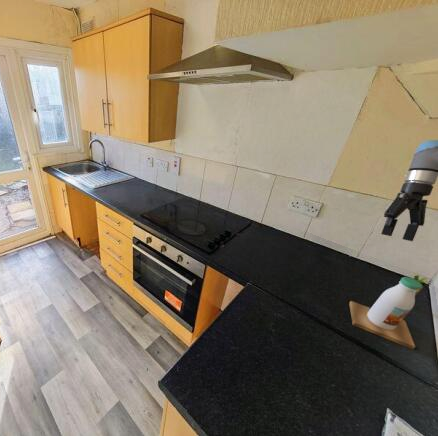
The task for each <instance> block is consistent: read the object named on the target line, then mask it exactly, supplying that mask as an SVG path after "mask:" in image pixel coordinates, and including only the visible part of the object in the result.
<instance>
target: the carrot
mask: <svg viewBox="0 0 438 436" xmlns="http://www.w3.org/2000/svg"><path fill="white" fill-rule="evenodd" d="M419 278H420V275H419V274H417V273H415V274H414V276H413V279H415V280H417V281H418V282H420V283H421V284H422V283H424V284H426V283H427V281H426V280H427V279H428V277H427V276H425V277H422V278H421V279H419ZM422 289H424V286H423V285H422V287H421V288H420V289H419V291H416V293H415V296H416V295H418V294H419V293H420V291H421V290H422Z"/></svg>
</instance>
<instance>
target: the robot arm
mask: <svg viewBox="0 0 438 436" xmlns="http://www.w3.org/2000/svg"><path fill="white" fill-rule="evenodd" d="M437 180H438V139H432V140H431V139H430V140H425V141H422V142H420V143H419V145H418V146H417V148H416V150H415V153H414V154H413V157H412V159H411V163H410V166H409V168H408V170H407V173H406V174H405V179H404V183H402V185H401V189H400V192H398V193H397V195H396V197H395V199H394V200H393V201H392V202H391V204H390V205H389V206H388V208H386V210H385V211H384V214H383V217H384V218H386V221H385V222H384V226H383V227H382V231H381V235H383V236H388V237H392V235H393V234H394V230H395V228H396V225H397V223H398V219H397V218H399V216H401V215H402V214H403V213H404V212H405V211H406V210H408V213H409V222H410V223H408V224H407V226H406V228H405V231H404V234H403V236H402V240H405V241H409V242H413V241H414V239H415V238H416V237H415V236H416V235H417V231H418V229H419V227H423V226H424V225H425V220H426V219H425V218H426V209H427V205H428V199H424V197H428V196H430V195H431V194H432V192H433V189H434V185H435V184H436V182H437Z"/></svg>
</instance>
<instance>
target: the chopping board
mask: <svg viewBox="0 0 438 436" xmlns="http://www.w3.org/2000/svg"><path fill="white" fill-rule="evenodd" d="M348 304H349V305H348V306H349V311H350V316H351V323H352V326H354V327H357V328H359V329H361V330H364V331H367V332H369V333H372V334H373V335H376V336H379V337H382V338H384V339H387V340H388V341H391V342H393V343H396V344H398V345H401V346H403V347H406V348H408V349H411V350H414V349H416V345H415V342H414V339H413V338H412V334H411V331H410V330H409V327H408V325H407V322H406V320H404V319H403V320H402V321H401V322H400V323H399V324H398V325H397V327H396V328H395V329H393V330H386V329H382V328H380V327H378V326H376V325H375V324H373V323H372V322H371V321H370V320H369V319H368V317H367V313H368V312H369V310H370V309H371V307H369V306H366V305H363V304H361V303H358V302H355V301H352V300H350V301H349V303H348Z"/></svg>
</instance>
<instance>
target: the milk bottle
mask: <svg viewBox="0 0 438 436" xmlns="http://www.w3.org/2000/svg"><path fill="white" fill-rule="evenodd" d="M422 286H423V284H422V282H421V283H420V282H418V281H417V280H415V279H414V278H412V277H409V276H403V277H401V278H400V281H398V284H396V285H395V286H392V287H389V288H387V289H386V290H384V291H383V292H382V293H381V294H380V295H379V297H378V298H377V299H376V301H375V302H374V303H373V305H372V306H371V307H370V308H371V309H370V310H369V312H368V313H367V317H368V319H369V320H370V321H371V322H372V323H373V324H375V325H376V326H378V327H380V328H382V329H386V330H393V329H395V328H396V327H397V325H398V324H399V323H400V322H401V321H402V320H404V319H405V317H406V316H407V315H408V314H410V312H411V311H412V309H413V308H414V306H415V303H416V295H415V293H416V291H419V289H420V288H421V287H422ZM419 292H420V291H419Z"/></svg>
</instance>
